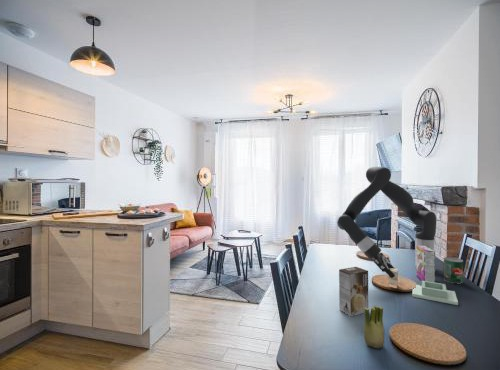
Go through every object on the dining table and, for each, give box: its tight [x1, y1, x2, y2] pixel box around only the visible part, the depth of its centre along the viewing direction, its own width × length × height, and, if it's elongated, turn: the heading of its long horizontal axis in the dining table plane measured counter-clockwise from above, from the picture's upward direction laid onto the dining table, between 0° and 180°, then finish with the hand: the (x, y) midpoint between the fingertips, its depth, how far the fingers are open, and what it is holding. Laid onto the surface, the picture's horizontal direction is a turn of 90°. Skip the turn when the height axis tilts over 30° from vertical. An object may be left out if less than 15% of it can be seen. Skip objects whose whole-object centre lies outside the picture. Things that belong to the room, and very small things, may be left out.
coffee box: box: [338, 266, 369, 317], centre depth 106 cm, size 9×6×16 cm
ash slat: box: [388, 268, 399, 286], centre depth 131 cm, size 4×4×8 cm
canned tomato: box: [443, 256, 464, 285], centre depth 138 cm, size 8×8×11 cm
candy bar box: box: [415, 246, 436, 283], centre depth 139 cm, size 11×5×16 cm, turn 168°
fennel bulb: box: [363, 305, 385, 349], centre depth 84 cm, size 6×5×12 cm
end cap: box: [411, 280, 459, 306], centre depth 121 cm, size 13×16×4 cm
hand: (394, 274), depth 131 cm, fingers open, 8 cm apart
